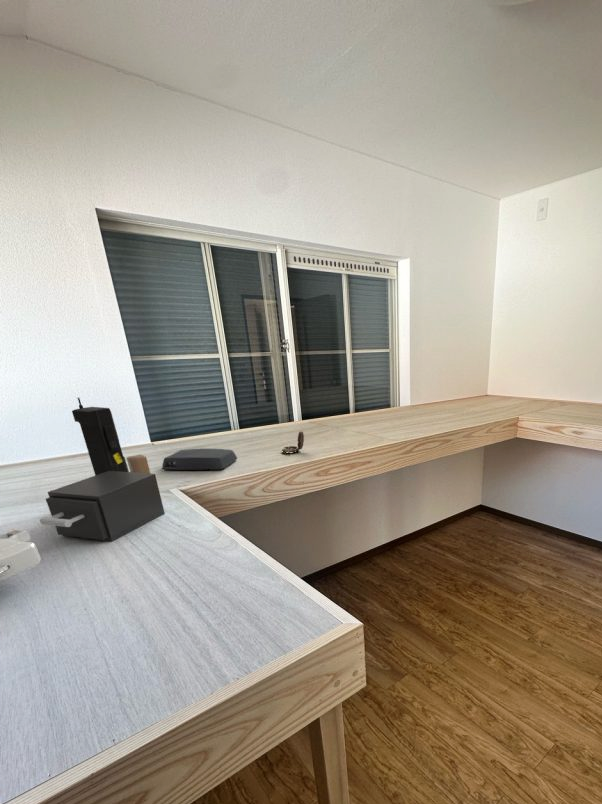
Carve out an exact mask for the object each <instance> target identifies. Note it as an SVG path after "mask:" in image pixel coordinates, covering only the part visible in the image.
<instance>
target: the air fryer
mask: <svg viewBox="0 0 602 804" xmlns="http://www.w3.org/2000/svg"><path fill="white" fill-rule="evenodd" d="M47 495H48V498H49V497H59V498H61V497H68V498H79V499H90V500H97V501H98V505H99V508H100V511H101V514H102V518H103V521H104V524H105V527H106V531H107V534H108V538H106V539H104V540H102V539H95V541H96V540H97V541H104V542H105V541H106V542H114V541H116V540H119V539H120V538H122V537H123V536H125V535H128V534H129V533H131V532H133V531H135V530H137V529H138V528H140V527H143V526H144V525H146V524H148V523H150V522H152V521H154V520H155V519H158V518H159V517H161V516H162V515H165V514H166V513H165V509H164V505H163V501H162V500H163V499H162V497H161V493H160V488H159V485H158V480H157V476H156V473H151V472H150V473H135V472H130V471H129V472H120V471H107V472H104V473H101V474H98V475H95V474H94V475H92V476H90V477H87V478H84V479H81V480H78V481H76V482H73V483H70V484H67V485H64V486H61V487H59V488H56V489H53V490H50V491H47ZM62 536H63V537H68V536H67V535H62ZM69 537H71V538H77V537H76V536H69ZM78 538H79V539H86V540H87V539H88V540H94V539H93V538H85V537H78Z"/></svg>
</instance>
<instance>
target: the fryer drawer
mask: <svg viewBox="0 0 602 804" xmlns="http://www.w3.org/2000/svg"><path fill="white" fill-rule="evenodd" d="M45 501H46V504H47V507H48V509H49V512H50V516H48V517H47V516H43V517H41V518H40V519H39V523H40V524H41V525H44V526H45V525H46V526H53V527H55V530H56V532H57V534H58V535H59V536H63V535H67V536H66V537H70V536H76V537H75V538H79V537H85V538H84V539H87V538H93V539H92V540H96V539H102V540H101V541H104V539H106V538H108V534H107V531H106V527H105V524H104V521H103V518H102V514H101V511H100V508H99V505H98V501H97V500H90V499H79V498H68V497H61V498H59V497H49V496H48V497H46V498H45Z"/></svg>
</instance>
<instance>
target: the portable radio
mask: <svg viewBox="0 0 602 804" xmlns="http://www.w3.org/2000/svg"><path fill="white" fill-rule="evenodd" d="M77 401H78V408H75V409H73V410H71V413H72V417H73V420H74V422H76V423H78V424H79V426H80V428H81V432H82V436H83V440H84V442H85V446H86V450H87V453H88V456H89V459H90V462H91V466H92V469H93V473H94V476H95V475H98V474H101V473H104V472H107V471H120V472H130V469H129V466H128V463H127V459H126V457H125V456H124V454H123V451H122V447H121V443H120V438H119V435H118V432H117V429H116V424H115V421H114V418H113V414H112V410H111V409H110V407H102V406H101V407H100V406H87V407H84V406H83V404H82V402H81V398H80V397H77Z"/></svg>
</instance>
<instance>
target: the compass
mask: <svg viewBox="0 0 602 804" xmlns="http://www.w3.org/2000/svg"><path fill="white" fill-rule="evenodd" d="M304 441H305V434H304V432H303V430H298V435H297V446H295V445H290V446H284V447H283V448H282V449H281V452H282V451H283V452H288V453H290V452H295V451H299V450H302V449H303V447H304V444H305V443H304ZM283 452H282V453H283ZM299 452H300V451H299Z"/></svg>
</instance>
